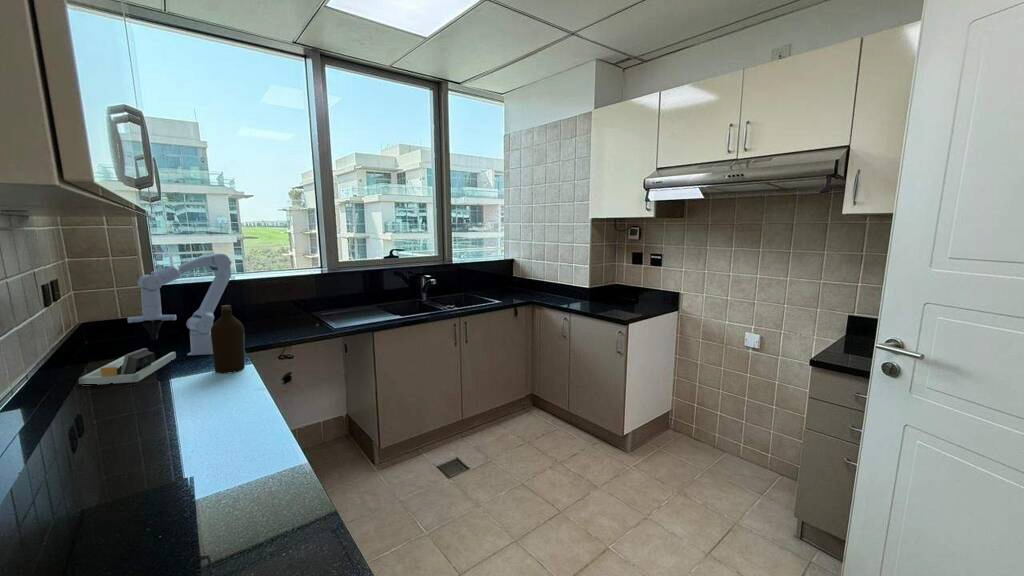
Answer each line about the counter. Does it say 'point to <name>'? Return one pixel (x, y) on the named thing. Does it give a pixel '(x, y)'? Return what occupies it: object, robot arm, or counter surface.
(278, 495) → the counter surface
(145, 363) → the electrical switch
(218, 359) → the olive oil
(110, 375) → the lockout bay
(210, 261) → the robot arm
